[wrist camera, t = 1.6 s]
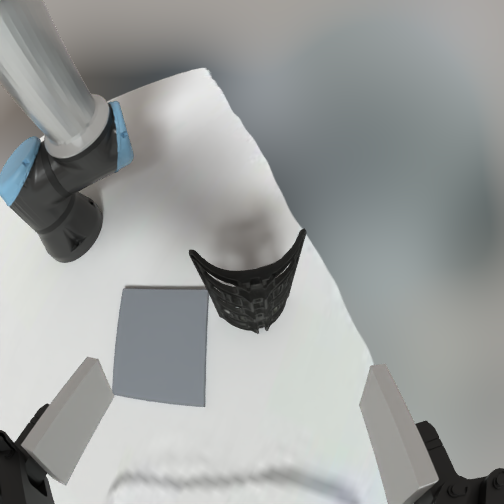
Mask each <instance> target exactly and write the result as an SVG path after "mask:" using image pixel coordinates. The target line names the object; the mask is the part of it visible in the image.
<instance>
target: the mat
mask: <svg viewBox="0 0 504 504" xmlns="http://www.w3.org/2000/svg"><path fill="white" fill-rule="evenodd" d="M208 301H209V293H208V291H207V290H179V289H123V292H122V298H121V304H120V311H119V319H118V327H117V336H116V345H115V356H114V369H113V386H112V392H113V394H114V395H118V396H123V397H128V398H134V399H140V400H146V401H153V402H160V403H167V404H176V405H185V406H196V407H205V382H206V346H207V321H208Z"/></svg>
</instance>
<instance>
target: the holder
mask: <svg viewBox="0 0 504 504" xmlns="http://www.w3.org/2000/svg"><path fill="white" fill-rule="evenodd" d="M305 236H306V230H305V229H302V230H301V231H300V232H299V235H298V237H297V239H296V241H295V243H294V245H293V246H292V248H291V249H290V250H289V251H288V252H287V253H286V254H285V255H284V256H283V257H282V258H281V259H280V260H278V261H277V262H275V263H272V264H270V265H267V266H264V267H260V268H257V269H252V270H245V271H229V270H224V269H221V268H218V267H215V266H213V265H211V264H210V263H208V262H207V261H206V260H205V259H203V258H202V257H201V256H200V255H199V254H198V253H197V252H196V251H195V250H189V255H190V257H191V259H192V261H193V263H194V265H195V267H196V269H197V271H198V273H199V275H200V277H201V279H202V281H203V283H204V285H205V287H206V289H207V291H208V293H209V295H210V297H211V299H212V301H213V303H214V305H215V308H216V310H217V312H218V314H219V316H220V317H221V318H223V319H225V320H226V321H227V322H228V323H230V324H231V325H233V326H235V327H238V328H240V329H243V330H251V331H253V332H255V333H257V334H258V333H259V331H258V329H259V328H263V327H265V329H266V331H268V329H269V327H270V325H271V324H272V323H274V322H275V321H276V320H277V318H278V317H279V316H280V314H281V313H282V311H283V309H284V307H285V304H286V300H287V298H288V297H289V293H290V289H291V286H292V282H293V278H294V275H295V271H296V268H297V264H298V261H299V257H300V253H301V250H302V246H303V243H304V239H305ZM289 264H290V265H289ZM288 265H289V266H288ZM287 266H288V268H287V269H286V270H285V268H286V267H287ZM284 270H285V271H284ZM283 271H284V272H283ZM207 272H208V273H209V274H210V275H212V276H214V277H216V278H217V279H219V280H222V281H224V282H226V283H230V284H233V285H235V286H236V287H232V286H228V285H225V284H222V283H220V282H219V281H217V280H215V279H214V278H212V277H211V276H210V275H209V274H208V273H207ZM281 272H283V273H282V274H281V275H279V274H280V273H281ZM278 275H279V276H278ZM277 276H278V277H277ZM276 277H277V278H276ZM216 288H217V289H218V290H219V291H220V292H219V291H218V290H217V289H216ZM223 301H224V302H223ZM225 302H226V303H225ZM236 307H239V308H236Z"/></svg>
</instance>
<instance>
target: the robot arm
mask: <svg viewBox="0 0 504 504" xmlns="http://www.w3.org/2000/svg"><path fill="white" fill-rule="evenodd" d="M0 85H1V86H2V87H3V88H4V89H5V91H6V92H7V93H8V94H9V95H10V96H11V97H12V98H13V100H14V101H15V102H16V103H17V104H18V106H19V107H20V108H21V109H22V110H23V111H24V112H25V113H26V115H27V116H28V117H29V118H30V119H31V120H32V121H33V122H34V123H35V124H36V125H37V127H38V128H39V129H40V130H41V131H42V132H43V133H44V134H45V138H44V141H43V142H41V140H40V139H39V138H37V137H35V136H33V137H30V138H28V139H27V140H25V141H24V142H23V143H22V144H21V145H20V146H19V147H18V148H17V149H16V150H15V151H14V152H13V154H12V155H11V156H10V158H9V159H8V161H7V162H6V164H5V165H4V167H3V169H2V171H1V173H0V196H1V197H2V198H3V200H4V201H5V202H6V204H7V206H9V207H10V208H11V209H12V210H13V211H14V212H15V213H16V214H18V215H19V216H20V217H21V218H22V219H23V220H24V221H25V222H26V223H27V224H28V225H29V226H30V227H31V228H32V229H34V230H35V231H36V232H37V233H38V235H39V237H40V239H41V241H42V243H43V244H44V246H45V248H46V250H47V252H48V253H49V255H51V256H52V257H53V258H54V259H55V260H57V261H59V262H63V263H67V262H71V261H74V260H76V259H78V258H79V257H81V256H82V255H83V254H85V253H86V252H87V251H88V250H89V249H90V247H91V246H92V245H93V243H94V242H95V240H96V239H97V237H98V235H99V232H100V229H101V225H102V214H101V211H100V209H99V207H98V206H97V205H96V204H95V202H94V201H93V200H91V199H90V198H88V197H86V196H84V195H82V194H81V193H79V192H78V191H80V190H82V189H83V188H85V187H87V186H89V185H91V184H93V183H95V182H97V181H98V180H100V179H102V178H104V177H106V176H108V175H110V174H112V173H116V172H118V171H119V169H121V168H123V167H125V166H127V165H128V164H130V163H131V162H132V160H133V157H134V154H133V150H132V147H131V143H130V140H129V136H128V133H127V129H126V126H125V122H124V118H123V115H122V111H121V107H120V104H119V102H118V101H114V102H109V103H107V101H106V100H105V99H104V98H103V97H102V96H99V95H96V94H90V92H89V90H88V89H87V87H86V85H85V83H84V82H83V79H82V78H81V76H80V74H79V72H78V70H77V68H76V66H75V65H74V63H73V61H72V59H71V57H70V55H69V53H68V51H67V49H66V47H65V45H64V43H63V42H62V39H61V37H60V35H59V33H58V31H57V29H56V27H55V25H54V23H53V21H52V19H51V16H50V14H49V12H48V10H47V8H46V6H45V4H44V1H43V0H0ZM113 398H114V394H113V392H112V390H111V388H110V386H109V383H108V381H107V379H106V376H105V374H104V372H103V369H102V367H101V364H100V362H99V359H95V358H90V357H87V358H86V359H85V360H84V362H83V363H82V364H81V365H80V366H79V368H78V369H77V370H76V371H75V373H74V374H73V375H72V376H71V378H70V379H69V380H68V382H67V383H66V384H65V385H64V387H63V388H62V389H61V391H60V392H59V393H58V395H57V396H56V397H55V398H54V400H53V401H52V402H51V404H45V405H44V406H43V407H41V408H40V409H39V410H38V411H37V413H36V414H35V415H34V417H33V418H32V419H31V421H30V423H28V425H27V426H26V428H25V429H24V430H23V432H22V433H21V434H20V436H19V437H18V439H17V440H16V441H15V442H13V441H12V440H11V439H10V438H9V436H8V435H7V434H6V433H5V432H4V431H2V430H0V504H54V500H53V497H52V493H51V489H50V485H49V481H48V479H47V477H46V474H47V473H48V474H49V475H50V476H51V477H52V478H53V479H54V480H56V481H58V482H60V483H62V484H64V485H67V483H68V481H69V479H70V477H71V475H72V473H73V471H74V469H75V467H76V465H77V463H78V461H79V459H80V457H81V456H82V454H83V452H84V450H85V448H86V446H87V444H88V443H89V441H90V439H91V437H92V435H93V433H94V432H95V430H96V428H97V426H98V424H99V423H100V421H101V419H102V417H103V416H104V414H105V412H106V410H107V409H108V407H109V405H110V403H111V402H112V400H113ZM359 406H360V409H361V412H362V415H363V418H364V421H365V424H366V428H367V431H368V434H369V437H370V441H371V444H372V447H373V451H374V454H375V457H376V461H377V464H378V468H379V472H380V475H381V479H382V482H383V486H384V490H385V494H386V498H387V502H388V504H413V503H414V504H504V469H502V468H499V469H495V470H494V471H493V472H491V473H490V474H489V475H488V476H486V477H481V478H476V479H466V478H464V477H462V476H459V475H458V474H457V473H456V472H455V470H454V468H453V465H452V463H451V461H450V459H449V457H448V455H447V453H446V450H445V448H444V446H442V445H443V444H442V442H441V440H440V439H439V436H438V434H437V432H436V430H435V428H434V427H433V426H432V425H431V424H430V423H428V422H427V421H423V422H420V423H417V424H415V423H414V420H413V418H412V416H411V414H410V412H409V410H408V408H407V406H406V403H405V402H404V399H403V397H402V395H401V393H400V392H399V389H398V387H397V385H396V383H395V381H394V379H393V378H392V376H391V374H390V372H389V370H388V368H387V366H386V364H380V365H373V366H370V370H369V373H368V377H367V381H366V384H365V388H364V391H363V394H362V398H361V401H360V404H359Z"/></svg>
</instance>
